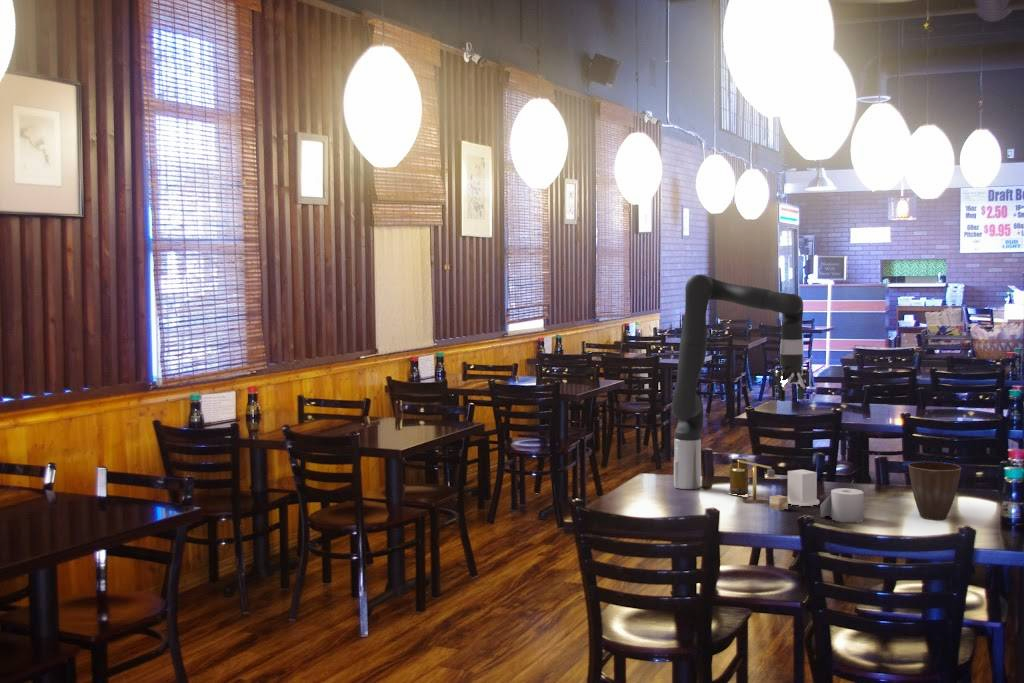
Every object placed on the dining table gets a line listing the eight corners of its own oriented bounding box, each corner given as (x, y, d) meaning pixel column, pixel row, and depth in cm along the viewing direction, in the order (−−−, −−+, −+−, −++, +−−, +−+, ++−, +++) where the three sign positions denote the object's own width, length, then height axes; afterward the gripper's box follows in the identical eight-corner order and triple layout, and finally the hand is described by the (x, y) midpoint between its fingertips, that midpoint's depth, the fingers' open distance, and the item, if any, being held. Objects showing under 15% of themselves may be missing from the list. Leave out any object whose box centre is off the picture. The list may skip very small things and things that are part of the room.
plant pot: (968, 517, 317) (969, 465, 316) (947, 525, 307) (948, 471, 306) (920, 509, 328) (921, 459, 327) (899, 517, 318) (899, 465, 317)
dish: (787, 506, 334) (787, 502, 334) (781, 499, 345) (781, 495, 345) (822, 506, 334) (822, 502, 333) (815, 499, 344) (815, 495, 344)
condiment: (737, 491, 360) (737, 457, 359) (757, 495, 353) (757, 460, 352) (724, 494, 355) (724, 459, 354) (744, 498, 348) (744, 462, 348)
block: (778, 511, 329) (778, 498, 328) (769, 508, 332) (769, 496, 332) (787, 509, 331) (787, 497, 330) (778, 507, 334) (778, 494, 334)
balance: (733, 502, 341) (733, 461, 340) (731, 499, 346) (731, 458, 345) (778, 503, 340) (778, 461, 339) (775, 499, 345) (775, 458, 344)
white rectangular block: (802, 501, 335) (802, 474, 335) (787, 498, 341) (787, 471, 340) (816, 499, 338) (816, 472, 338) (801, 496, 344) (802, 469, 343)
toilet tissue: (814, 517, 319) (814, 489, 319) (854, 515, 322) (854, 487, 321) (827, 523, 310) (828, 495, 310) (869, 521, 313) (869, 493, 312)
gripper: (798, 351, 359) (798, 398, 359) (768, 353, 351) (767, 400, 352) (814, 352, 352) (814, 400, 353) (784, 354, 345) (783, 402, 346)
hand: (791, 400), depth 353 cm, fingers open, 8 cm apart
